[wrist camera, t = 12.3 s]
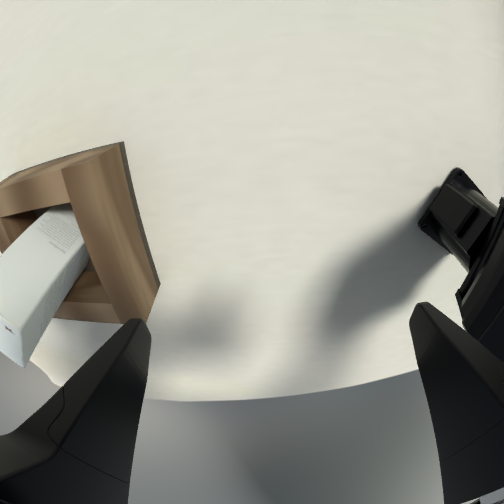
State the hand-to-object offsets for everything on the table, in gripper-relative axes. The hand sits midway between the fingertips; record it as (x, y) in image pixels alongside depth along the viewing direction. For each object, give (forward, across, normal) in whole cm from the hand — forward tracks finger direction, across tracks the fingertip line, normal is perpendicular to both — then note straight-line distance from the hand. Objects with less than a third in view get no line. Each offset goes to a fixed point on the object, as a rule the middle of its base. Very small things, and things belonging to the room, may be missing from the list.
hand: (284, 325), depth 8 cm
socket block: (+13, +16, +2) cm, 21 cm away
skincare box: (+12, +16, +3) cm, 21 cm away
